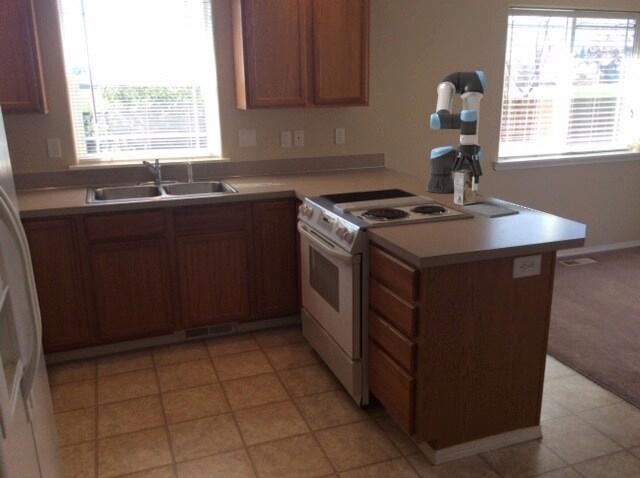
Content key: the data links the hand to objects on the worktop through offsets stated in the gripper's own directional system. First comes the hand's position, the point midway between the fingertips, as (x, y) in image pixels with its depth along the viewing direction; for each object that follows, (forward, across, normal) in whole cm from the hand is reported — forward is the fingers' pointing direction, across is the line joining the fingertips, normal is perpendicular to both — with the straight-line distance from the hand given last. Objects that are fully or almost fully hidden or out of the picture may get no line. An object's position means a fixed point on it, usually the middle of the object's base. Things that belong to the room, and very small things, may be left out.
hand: (465, 188), depth 270 cm
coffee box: (+8, 0, 0) cm, 8 cm away
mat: (+8, +19, -1) cm, 20 cm away
